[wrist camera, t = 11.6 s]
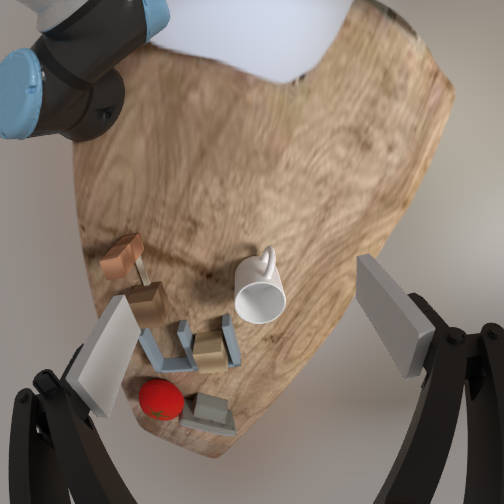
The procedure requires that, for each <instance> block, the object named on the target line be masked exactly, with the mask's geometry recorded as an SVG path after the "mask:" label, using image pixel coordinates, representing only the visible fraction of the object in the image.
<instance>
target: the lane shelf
mask: <svg viewBox="0 0 504 504" xmlns="http://www.w3.org/2000/svg"><path fill="white" fill-rule="evenodd" d="M222 329H223V332H224V335H225V339H226V342H227V345H228V349H229V352H230V353H228V367H236V366H241V354H240V350H239V346H238V343H237V339H236V335H235V332H234V328H233V324H232V321H231V317H230V314H227V315H223V319H222ZM140 330H141V333H140V336H139V338H138V339H139V341H140V343H141V345H142V347H143V349H144V351H145V353H146V355H147V357H148V359H149V360H150V362H151V364H152V366H153V368H154V369H155V371H156V373H167V372H184V371H197V370H199V369H198V367H197V364H196V362H195V360H194V357H193V355H192V354H193V348H194V342H195V341H194V338H193V336H192V333H191V330H190V328H189V325H188V322H187V320H181V321H180V323H179V327H178V330H177V334H178V336H179V338H180V341H181V343H182V346H183V348H184V350H185V352H186V355H187V357H184V358H171V359H164V358H163V356H162V354H161V352H160V350H159V348H158V346H157V344H156V342H155V340H154V338H153V335H152V333H151V331H150V329H149V328H144V329H140Z"/></svg>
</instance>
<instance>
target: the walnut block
mask: <svg viewBox="0 0 504 504" xmlns="http://www.w3.org/2000/svg"><path fill="white" fill-rule="evenodd" d="M143 251H144V247H143V244H142V240H141V237H140V234H139V233H135V234H131V235H126V236H123V237H122V238H121V239H120V240H119V241H118V242H117V243H116V244H115V245H114V246H113V247H112V248H111V249H110V250H109V252H108V253H107V254H106V255H105V256H104V257H103V258H102V259H101V260H100V264H101V267H102V269H103V272H104V274H105V277H106V279H107V280H112V279H119V278H125V276H126V275H127V273H128V272H129V271H130V269H131V268H132V266H133V265H134V263H135V262H136V265H137V268H138V270H139V273H140V276H141V279H142V281H143V284H141V285H135V287H134V288H133V290H132V292H131V293H130V295H129V297H128V299H127V302H128V304H129V306H130V308H131V311H132V313H133V315H134V317H135V319H136V322H137V324H138V326H139V328H140V329H144V328H155V327H163V325H164V322H165V319H166V316H167V313H168V310H169V307H170V304H169V302H168V299H167V296H166V294H165V291H164V288H163V285H162V282H161V281H160V282H154V283H150V280H149V278H148V275H147V272H146V269H145V266H144V263H143V260H142V257H141V254H142V252H143Z"/></svg>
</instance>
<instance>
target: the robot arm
mask: <svg viewBox="0 0 504 504" xmlns="http://www.w3.org/2000/svg"><path fill="white" fill-rule="evenodd" d="M17 1H19V2H20V3H22V4H24V5H26V6H27V7H28V8H30V9H32V10H33V11H35V12H36V13H37V30H38V31H39V32H41V33H42V34H43V35H42V36H41V37H40V38H39V39H38V40H37V41H36V42H35V43H34V44H33V46H32V47H31V48H30V49H28V48H21V49H18V50H16V51H13V52H11V53H10V54H8V55H7V56H6V57H5V59H3V61H2V62H1V63H0V137H1V138H4V139H20V140H23V139H26V138H30V137H36V136H43V135H50V134H57V133H59V134H61V135H63V136H64V137H66V138H68V139H70V140H74V141H85V140H91V139H94V138H97V137H99V136H101V135H102V134H104V133H105V132H106V131H107V130H108V129H109V128H110V127H111V126H112V125H113V124H114V123H115V121H116V120H117V118H118V116H119V114H120V112H121V110H122V107H123V103H124V97H125V88H124V83H123V79H122V77H121V75H120V74H119V72H118V71H117V70H116V69H115V68H113V67H115V66H116V65H117V64H118V63H119V62H121V61H122V60H123V59H124V58H125V57H127V56H128V55H129V54H130V53H132V52H133V51H134V50H136V49H137V48H138V47H140V46H141V45H142V44H146V43H147V42H148V41H149V40H150V38H152V37H153V36H154V35H156V34H157V33H159V32H160V31H161V30H163V29H164V28H165V27H166V26H167V24H168V22H169V20H170V12H169V8H168V5H167V3H166V0H17ZM356 299H357V301H358V302H359V304H360V305H361V307H362V308H363V310H364V312H365V313H366V315H367V317H368V318H369V320H370V321H371V323H372V325H373V326H374V328H375V330H376V331H377V333H378V334H379V336H380V338H381V340H382V341H383V343H384V345H385V346H386V348H387V350H388V352H389V353H390V355H391V357H392V358H393V360H394V362H395V364H396V365H397V367H398V369H399V371H400V373H401V374H402V376H403V378H404V380H405V381H406V380H409V379H411V378H414V377H416V376H419V375H420V373H421V370H422V368H423V367H424V368H425V370H426V372H427V374H426V376H425V379H424V381H423V383H422V386H421V388H422V390H421V393H420V397H419V401H418V403H417V406H416V410H415V412H414V415H413V418H412V421H411V424H410V426H409V429H408V431H407V434H406V437H405V439H404V442H403V444H402V447H401V449H400V451H399V453H398V456H397V458H396V460H395V463H394V464H393V467H392V469H391V471H390V473H389V475H388V477H387V479H386V481H385V483H384V485H383V486H382V488H381V490H380V492H379V494H378V496H377V497H376V499H375V501H374V503H373V504H430V503H431V500H432V498H433V495H434V493H435V490H436V488H437V485H438V483H439V480H440V478H441V475H442V472H443V469H444V466H445V463H446V460H447V457H448V454H449V450H450V447H451V443H452V440H453V436H454V432H455V428H456V424H457V419H458V415H459V410H460V405H461V399H462V394H463V387H464V385H465V395H466V406H467V425H468V458H467V476H466V487H465V495H464V503H463V504H504V329H503V328H502V327H501V326H500V325H498V324H496V323H487V324H485V325H484V326H483V328H482V330H481V332H480V333H477V334H468V335H467V334H466V333H465V332H464V331H462V330H461V329H459V328H456V327H449V326H448V325H447V324H446V323H445V322H444V320H443V319H442V318H441V317H440V316H439V315H438V314H437V313H436V312H435V310H433V308H432V307H431V306H430V305H429V304H428V303H427V301H426V300H425V299H424V298H423V297H421V296H419V295H418V294H416V293H411V294H406V293H405V292H404V291H403V290H402V289H401V287H400V286H399V285H398V284H397V283H396V282H395V281H394V280H393V278H392V277H391V276H390V275H389V274H388V273H387V272H386V271H385V270H384V269H383V268H382V267H381V266H380V264H379V263H378V262H377V261H376V260H375V259H374V258H373V257H372V256H371V255H370V254H365V255H360V256H357V281H356ZM140 333H141V330H140V328H139V326H138V324H137V322H136V319H135V317H134V315H133V313H132V311H131V308H130V306H129V304H128V302H127V299H126V297H125V295H117V296H113V298H112V299H111V301H110V303H109V304H108V306H107V307H106V309H105V310H104V312H103V314H102V315H101V317H100V318H99V320H98V322H97V323H96V325H95V327H94V328H93V330H92V332H91V334H90V335H89V337H88V339H87V340H86V342H85V344H82V345H81V346H80V347H79V348H78V349H77V350H76V352H75V353H74V355H73V358H72V359H71V360H70V362H69V363H70V364H68V366H67V368H66V369H65V371H64V373H63V375H62V377H61V379H60V381H59V379H58V378H57V377H56V375H55V374H54V373H53V371H52V370H50V369H45V370H42V371H41V372H39V373H38V374H37V375H36V376H35V378H34V380H33V386H34V387H35V388H36V389H37V390H38V392H39V393H40V394H38V395H35V394H34V393H33V392H32V390H31V389H28V388H24V389H22V390H21V391H19V392H18V394H17V395H16V398H15V401H14V408H13V415H12V423H11V433H10V445H9V495H10V504H71V501H70V496H69V490H70V493H71V495H72V497H73V500H74V502H75V504H137V502H136V501H135V499H134V498H133V496H132V495H131V493H130V492H129V490H128V488H127V487H126V485H125V484H124V482H123V480H122V478H121V477H120V475H119V473H118V471H117V470H116V468H115V466H114V464H113V462H112V460H111V459H110V457H109V455H108V453H107V451H106V449H105V447H104V445H103V443H102V441H101V439H100V437H99V434H98V432H97V430H96V428H95V426H94V423H93V421H92V419H91V417H90V416H89V415H88V414H89V411H90V410H91V411H92V412H93V413H94V414H95V415H96V416H97V417H103V418H109V417H110V414H111V411H112V408H113V405H114V402H115V399H116V396H117V394H118V391H119V388H120V385H121V382H122V380H123V377H124V374H125V372H126V369H127V366H128V364H129V361H130V358H131V356H132V353H133V351H134V348H135V346H136V343H137V341H138V338H139V336H140ZM36 427H37V428H38V429H39V433H37V429H36ZM68 488H69V490H68Z"/></svg>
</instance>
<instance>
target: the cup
mask: <svg viewBox="0 0 504 504" xmlns="http://www.w3.org/2000/svg"><path fill="white" fill-rule="evenodd" d="M268 258H269V259H268ZM285 304H286V299H285V295H284V291H283V287H282V284H281V280H280V276H279V273H278V270H277V267H276V266H275V251H274V248H273V247H272V246H267V247H266V248H265V250H264V252H263V254H262V256H252V257H249V258H246V259H245V260H243V261H242V262H241V263H240V264H239V265H238V267H237V269H236V272H235V300H234V305H235V310H236V312H237V314H238V315H239V316H240V317H241V318H242V319H244V320H245V321H247V322H250V323H254V324H263V323H268V322H271V321H273V320H275V319H276V318H277V317H279V316H280V315H281V313H282V312H283V310H284V308H285Z"/></svg>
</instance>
